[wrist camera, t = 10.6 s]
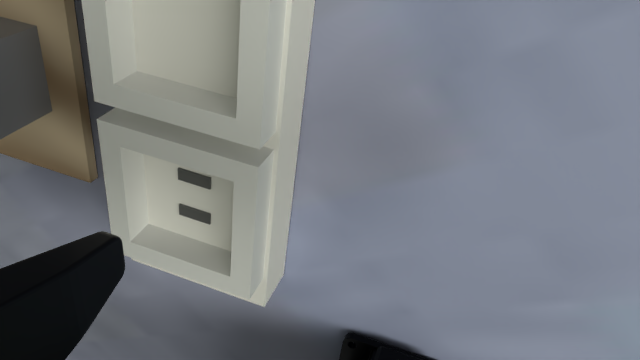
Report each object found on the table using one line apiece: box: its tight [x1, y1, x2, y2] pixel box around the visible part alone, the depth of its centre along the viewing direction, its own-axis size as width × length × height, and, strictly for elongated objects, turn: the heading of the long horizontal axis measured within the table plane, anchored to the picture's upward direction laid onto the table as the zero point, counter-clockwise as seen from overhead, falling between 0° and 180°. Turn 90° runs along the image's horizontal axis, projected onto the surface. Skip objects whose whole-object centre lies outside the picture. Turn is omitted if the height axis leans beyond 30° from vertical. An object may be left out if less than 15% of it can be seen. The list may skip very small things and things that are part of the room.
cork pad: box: [0, 0, 98, 183], centre depth 27 cm, size 12×8×1 cm, turn 173°
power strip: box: [81, 0, 315, 307], centre depth 22 cm, size 19×8×4 cm, turn 173°
